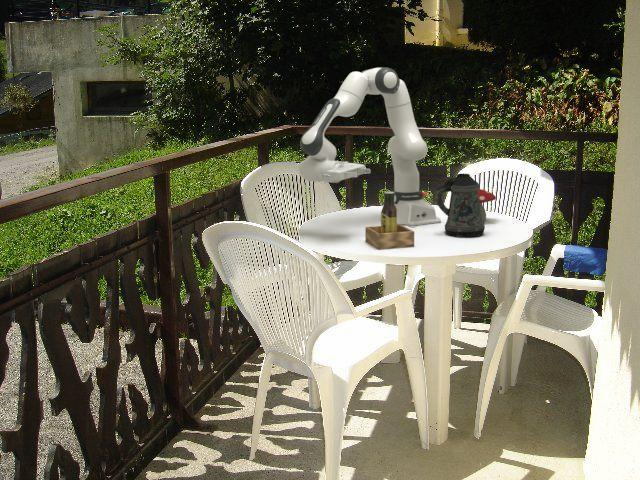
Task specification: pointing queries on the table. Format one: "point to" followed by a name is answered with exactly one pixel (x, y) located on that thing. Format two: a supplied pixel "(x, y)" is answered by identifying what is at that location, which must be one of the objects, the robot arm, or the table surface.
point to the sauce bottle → (389, 214)
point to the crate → (389, 237)
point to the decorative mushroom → (484, 197)
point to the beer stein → (462, 207)
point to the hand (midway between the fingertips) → (363, 173)
